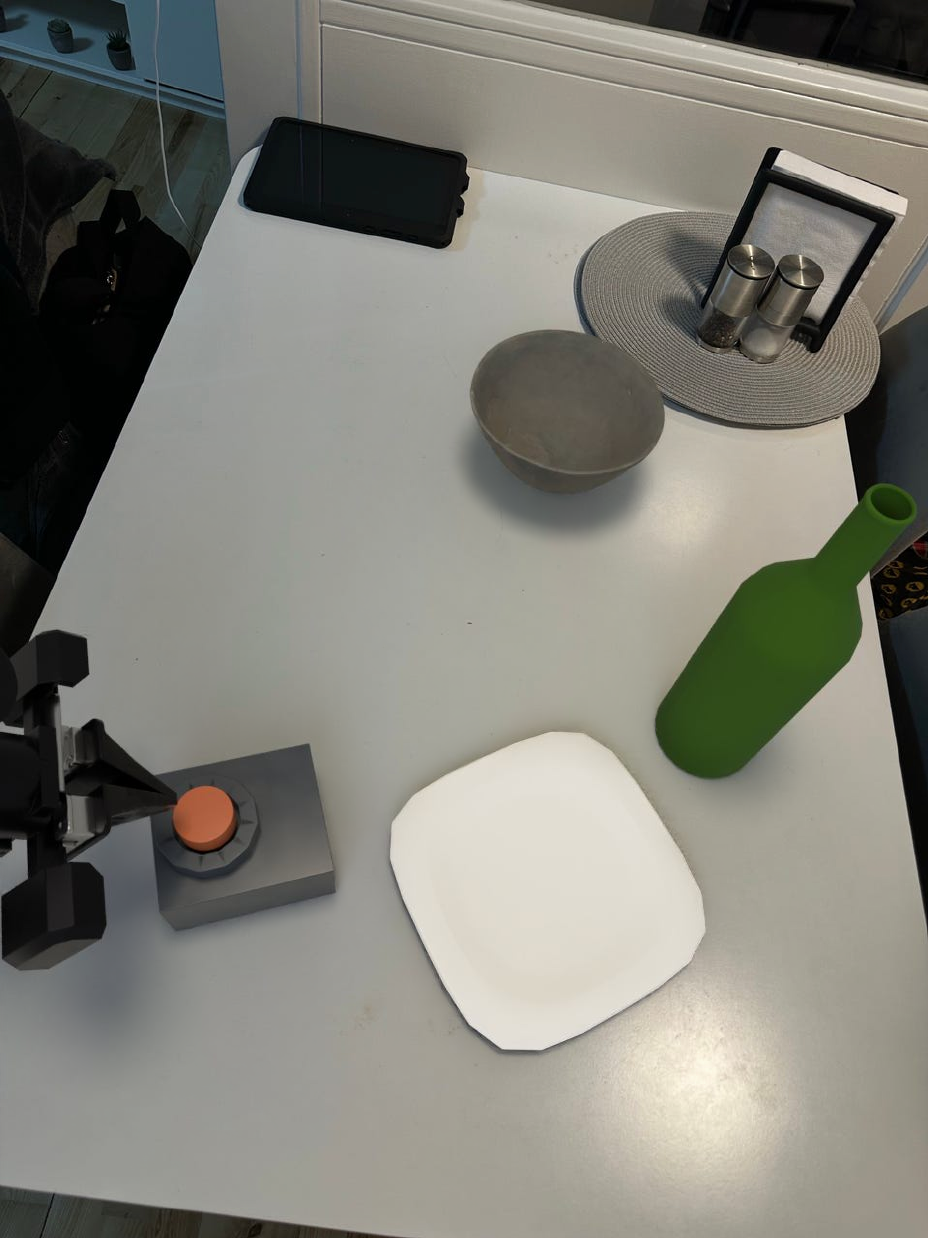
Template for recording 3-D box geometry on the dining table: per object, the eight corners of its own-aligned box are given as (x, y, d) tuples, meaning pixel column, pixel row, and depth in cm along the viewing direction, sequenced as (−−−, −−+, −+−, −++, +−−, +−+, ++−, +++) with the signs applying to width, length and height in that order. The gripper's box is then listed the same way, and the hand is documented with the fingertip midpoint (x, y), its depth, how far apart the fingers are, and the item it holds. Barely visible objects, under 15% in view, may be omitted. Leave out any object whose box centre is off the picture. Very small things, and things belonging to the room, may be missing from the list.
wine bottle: (723, 677, 81) (913, 432, 54) (770, 765, 77) (1001, 548, 49) (637, 700, 79) (788, 457, 51) (680, 792, 75) (869, 581, 47)
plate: (586, 714, 78) (590, 706, 76) (731, 944, 69) (739, 940, 67) (361, 818, 71) (361, 811, 69) (489, 1089, 62) (492, 1088, 60)
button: (181, 857, 60) (176, 848, 59) (175, 802, 62) (169, 792, 61) (240, 843, 61) (236, 835, 60) (232, 790, 63) (228, 780, 61)
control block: (175, 932, 65) (154, 906, 58) (161, 804, 70) (140, 767, 63) (336, 892, 68) (333, 863, 61) (312, 772, 72) (308, 733, 66)
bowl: (437, 415, 94) (445, 342, 86) (596, 389, 99) (619, 317, 90) (494, 554, 86) (509, 488, 77) (666, 518, 90) (698, 452, 82)
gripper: (-145, 687, 53) (93, 726, 65) (-170, 1013, 44) (112, 989, 56) (-54, 595, 48) (186, 655, 60) (-61, 941, 39) (222, 931, 51)
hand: (173, 802), depth 57 cm, fingers closed
